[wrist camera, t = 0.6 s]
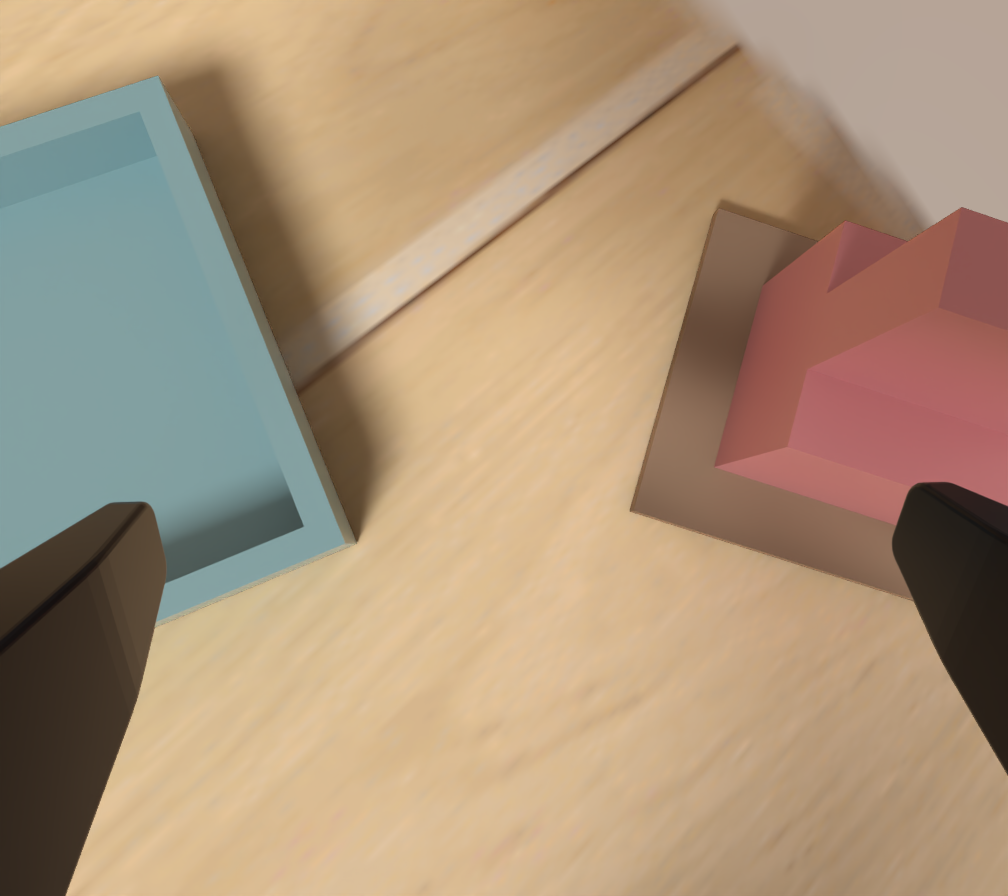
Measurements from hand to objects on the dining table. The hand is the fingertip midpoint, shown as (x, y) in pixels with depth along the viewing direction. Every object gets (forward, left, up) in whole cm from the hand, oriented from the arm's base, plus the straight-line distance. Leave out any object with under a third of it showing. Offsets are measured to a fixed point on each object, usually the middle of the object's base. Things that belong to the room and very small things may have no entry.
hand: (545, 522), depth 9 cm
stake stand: (-5, -10, -14) cm, 18 cm away
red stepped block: (-5, -10, -14) cm, 18 cm away
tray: (+11, +7, -14) cm, 19 cm away
